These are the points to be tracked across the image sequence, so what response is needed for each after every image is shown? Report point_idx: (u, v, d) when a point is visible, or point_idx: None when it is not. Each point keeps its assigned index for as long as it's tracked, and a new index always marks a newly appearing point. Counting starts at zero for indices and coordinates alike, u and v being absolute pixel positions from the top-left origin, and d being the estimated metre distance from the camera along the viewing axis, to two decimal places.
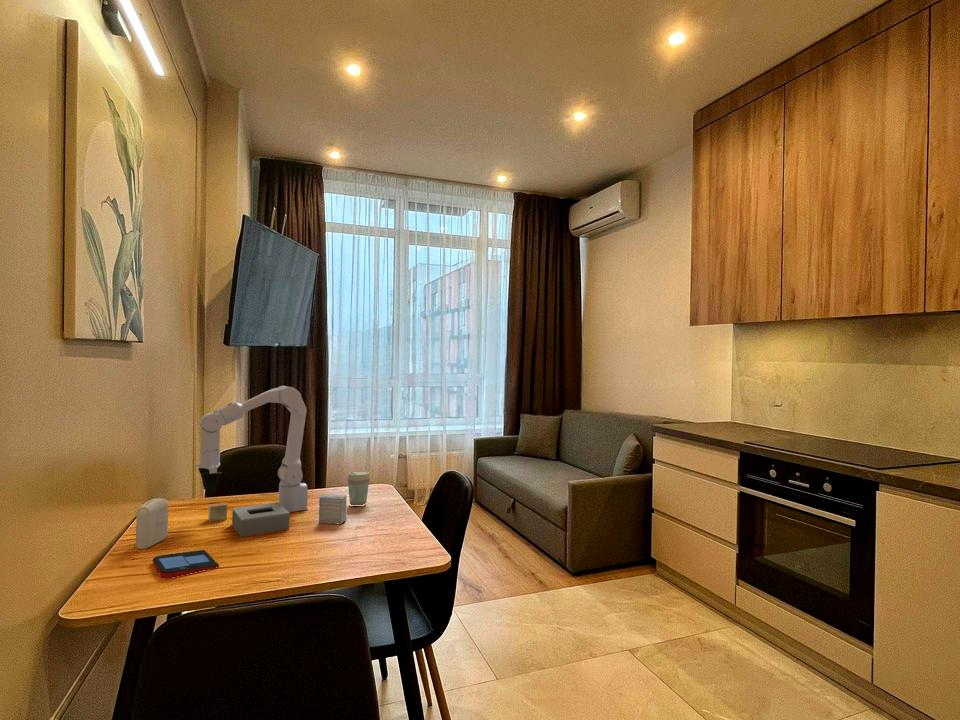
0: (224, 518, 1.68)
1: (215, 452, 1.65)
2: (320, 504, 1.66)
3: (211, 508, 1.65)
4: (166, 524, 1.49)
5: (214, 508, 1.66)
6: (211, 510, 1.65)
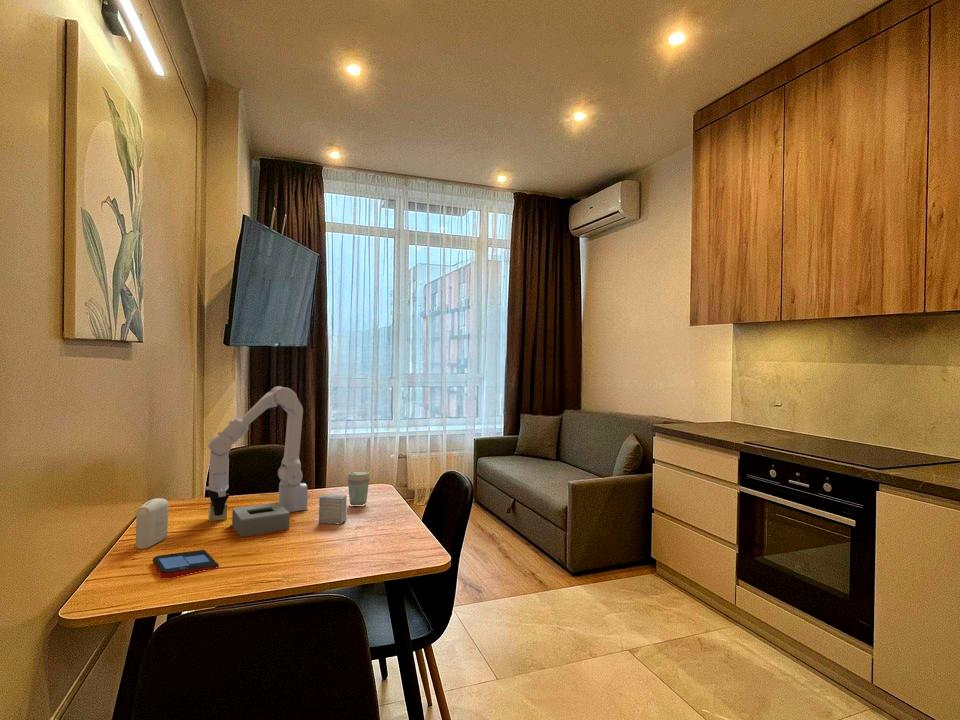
0: (224, 518, 1.68)
1: (224, 475, 1.67)
2: (320, 504, 1.66)
3: (211, 508, 1.65)
4: (166, 524, 1.49)
5: None
6: (211, 510, 1.65)
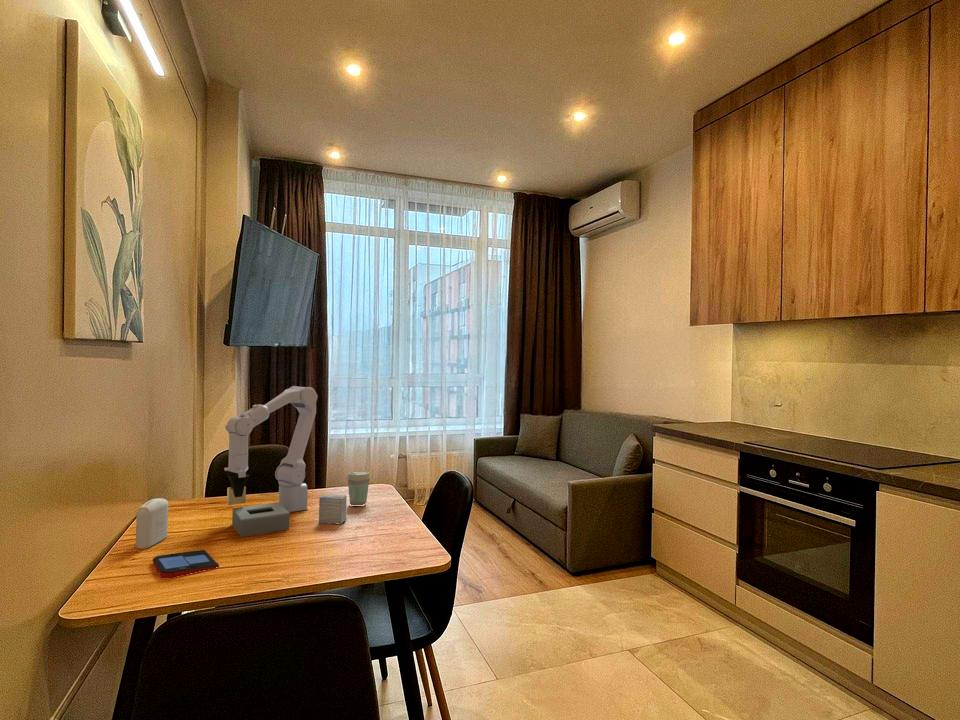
0: (243, 501, 1.65)
1: (243, 456, 1.64)
2: (320, 504, 1.66)
3: (230, 491, 1.63)
4: (166, 524, 1.49)
5: (233, 491, 1.63)
6: (230, 493, 1.63)
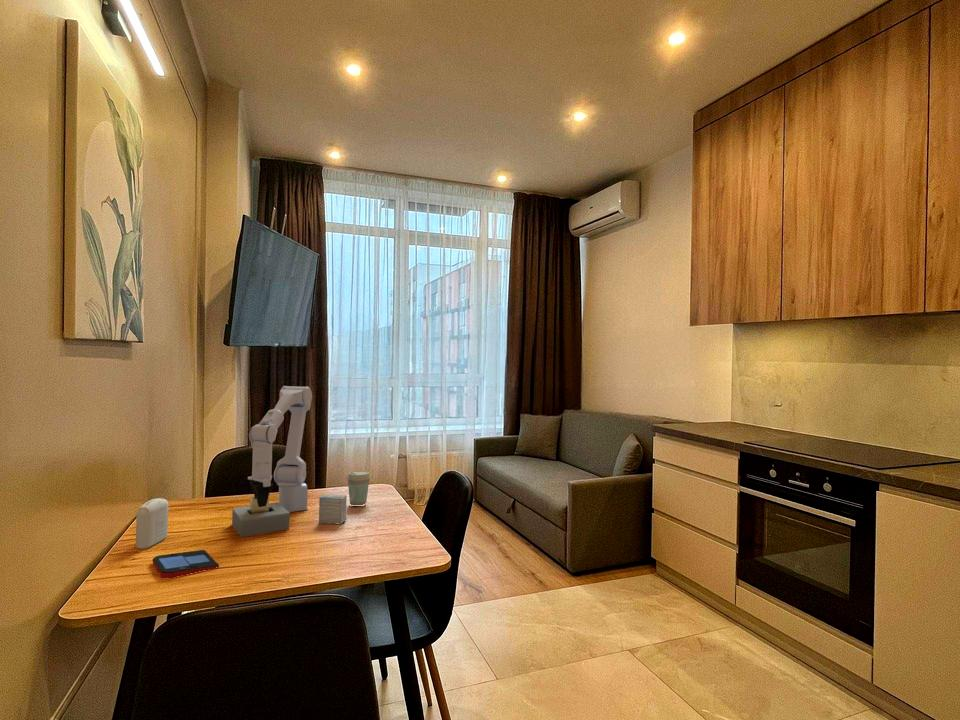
0: (266, 511, 1.61)
1: (267, 464, 1.60)
2: (320, 504, 1.66)
3: (253, 501, 1.59)
4: (166, 524, 1.49)
5: (256, 501, 1.59)
6: (253, 503, 1.59)
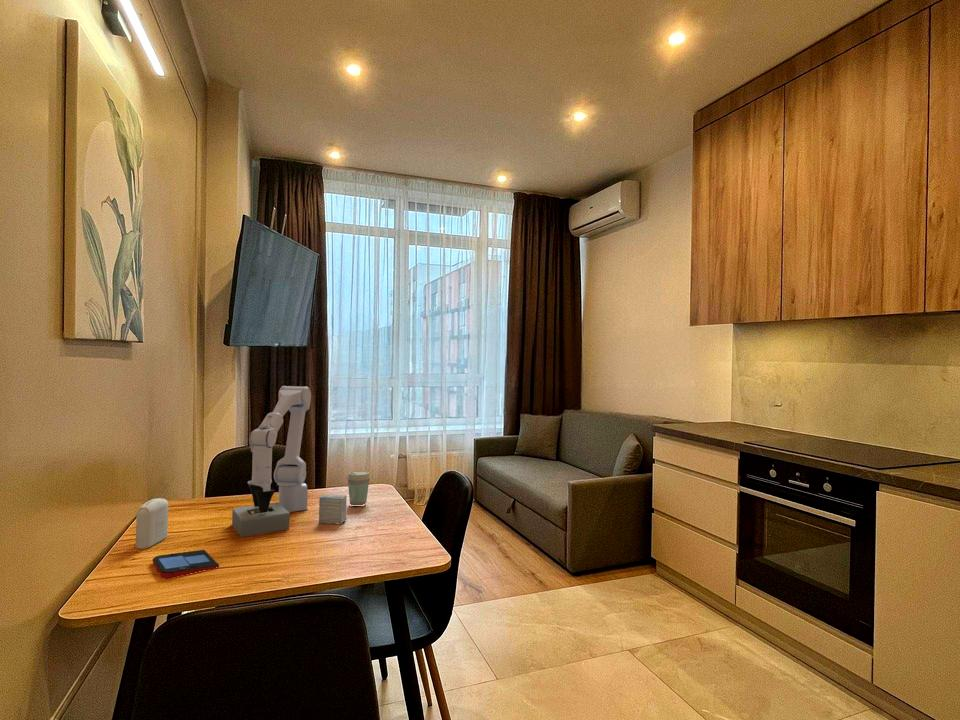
0: None
1: (267, 469, 1.60)
2: (320, 504, 1.66)
3: None
4: (166, 524, 1.49)
5: None
6: None
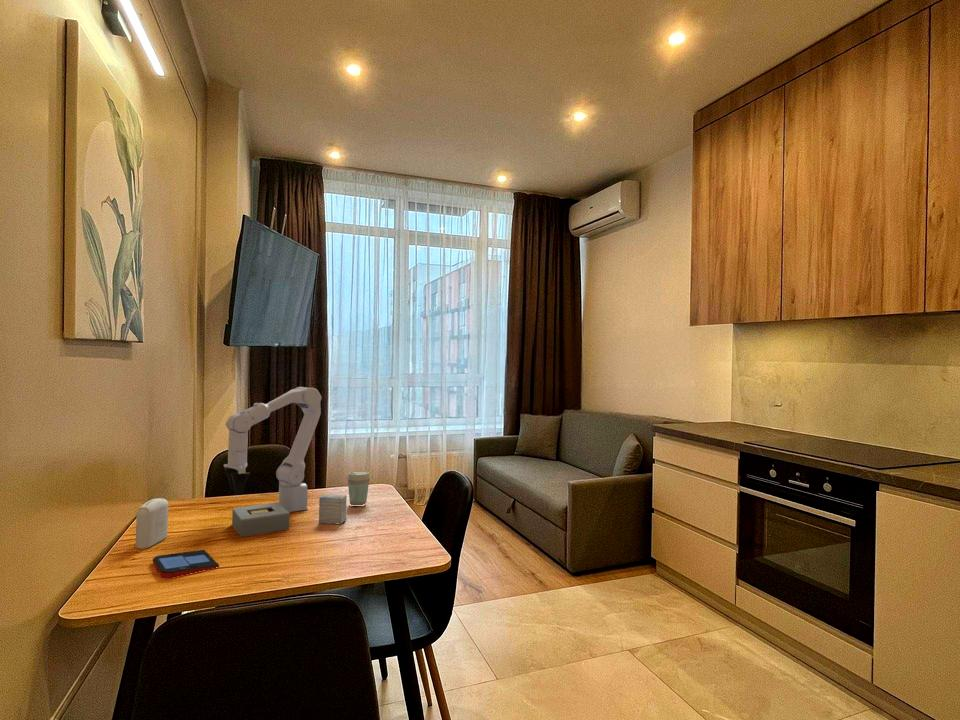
0: None
1: (243, 452, 1.67)
2: (320, 504, 1.66)
3: None
4: (166, 524, 1.49)
5: None
6: None
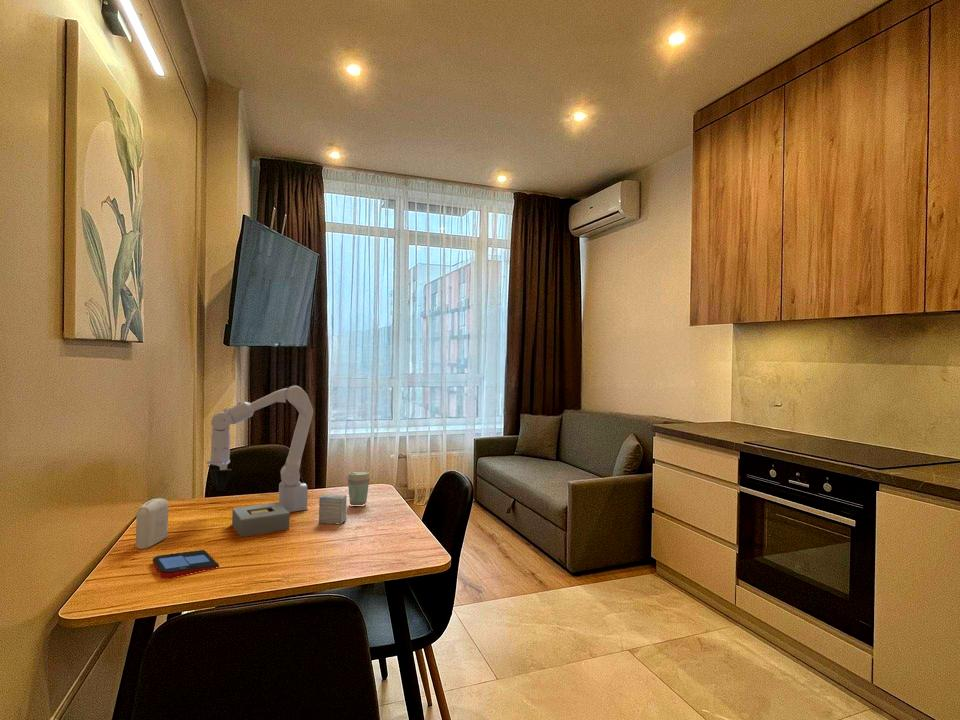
0: None
1: (225, 450, 1.71)
2: (320, 504, 1.66)
3: None
4: (166, 524, 1.49)
5: None
6: None
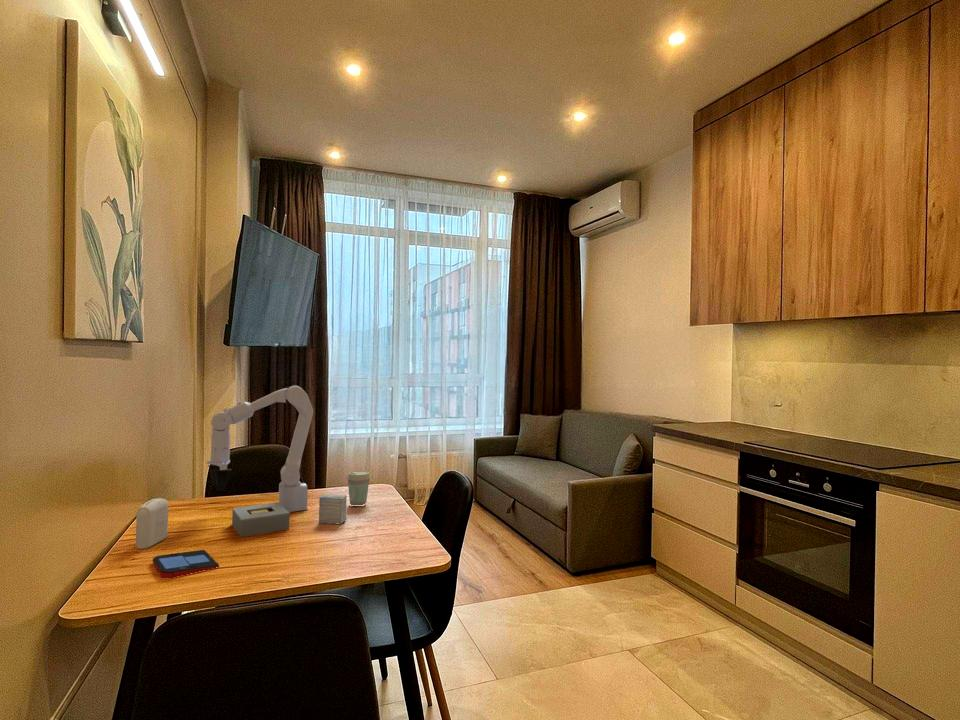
0: None
1: (225, 450, 1.71)
2: (320, 504, 1.66)
3: None
4: (166, 524, 1.49)
5: None
6: None
